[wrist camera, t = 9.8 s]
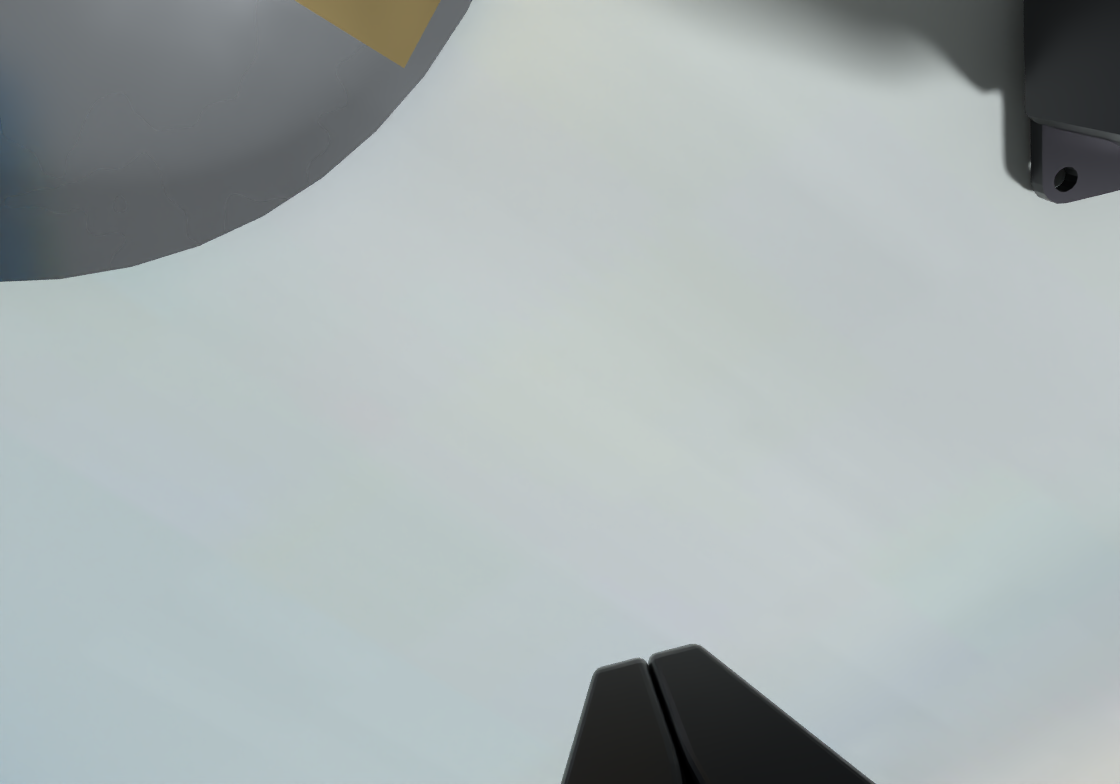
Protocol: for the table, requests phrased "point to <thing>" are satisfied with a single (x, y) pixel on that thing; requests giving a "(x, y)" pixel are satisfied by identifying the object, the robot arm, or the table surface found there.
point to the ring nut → (379, 22)
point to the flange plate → (175, 121)
